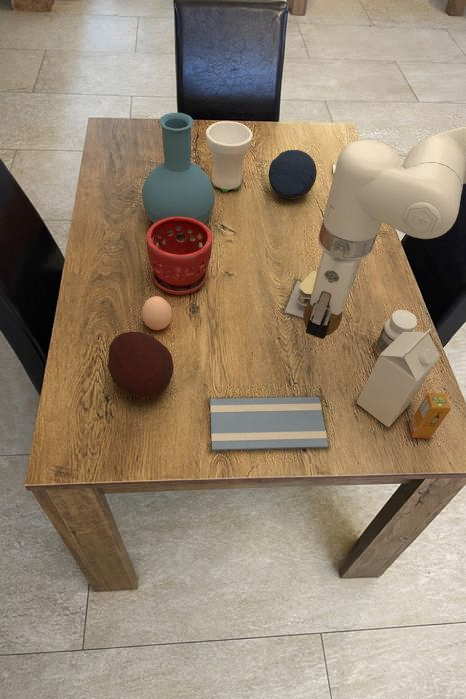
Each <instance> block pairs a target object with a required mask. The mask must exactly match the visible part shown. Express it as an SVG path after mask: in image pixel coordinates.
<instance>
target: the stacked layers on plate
mask: <svg viewBox="0 0 466 699" xmlns="http://www.w3.org/2000/svg"><path fill="white" fill-rule="evenodd" d="M316 275H317V271H315V270H312V271H311V272H310V273H309V274H308V275H307V276H306V277H305V278H304V279H303V280H302V281H300V280H297V281H296V283H295V285H294V288H293V290H292V292H291V295H290V298H289V300H288V302H287V305H286V307H285V309H284V313H286V314H290V315H293V316H296V317H299V318H302V319H304V318H303V313H304V310H305V308H306V305H307V303H308V302H309V301H310V300H311V295H312V291H313V287H314V283H315V279H316Z"/></svg>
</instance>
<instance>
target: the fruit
mask: <svg viewBox="0 0 466 699" xmlns="http://www.w3.org/2000/svg"><path fill="white" fill-rule="evenodd" d="M319 301H320V299H319ZM328 304H329V302H328ZM313 308H314V305H313V306H312V305H311V303H310V301H309V302H308V303H307V305H306V308H305V310H304V313H303V318H302V319H303V324H304V327H305V329H306V328H307V324H308V321H309V317H310V315H311V314H312V311H313ZM327 313H328V311H327V310H325V313H324V317H326V315H327ZM342 319H343V311H342V312H341V313H340V314H339V315H336V314H332V313H331V315H330V318H329V321H330V324H329V327H328V330H327V333H326V336H325V337H328V336H330V335H332V334H333V333H334V332H335V331H336V330H338V328H339V327H340V325H341V322H342Z"/></svg>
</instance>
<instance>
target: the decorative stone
mask: <svg viewBox="0 0 466 699" xmlns="http://www.w3.org/2000/svg"><path fill="white" fill-rule="evenodd" d="M317 173H318V172H317V165H316V162H315V160H314V159H313V157H312V156H311V155H310V154H308V153H307V152H305V151H303V150H300V149H287V150H285V151H281V152H280V153H279V154H278V155H277V156H276V157H275V158H274V159H273V160H272V161H271V163H270V165H269V168H268V182H269V186H270V187H271V189H272V191H273V192H274V193H275V194H276V195H277V196H279V197H281V198H283V199H289V200H292V199H293V200H294V199H298V198H300V197H304V196H305V195H306V194H308V193H309V192H310V191H311V190H312V188H313V187H314V185H315V183H316V180H317V175H318V174H317Z"/></svg>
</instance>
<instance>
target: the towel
mask: <svg viewBox="0 0 466 699" xmlns="http://www.w3.org/2000/svg"><path fill="white" fill-rule="evenodd" d="M209 405H210V407H209V410H210V434H211V435H210V437H211V451H212V452H216V451H217V452H219V451H221V452H222V451H224V452H225V451H258V450H259V451H260V450H293V449H294V450H298V449H328V448H329V442H328V435H327V430H326V425H325V420H324V415H323V408H322V403H321V398H320V396H288V397H284V396H283V397H234V398H233V397H231V398H230V397H229V398H225V397H224V398H210V399H209Z"/></svg>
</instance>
